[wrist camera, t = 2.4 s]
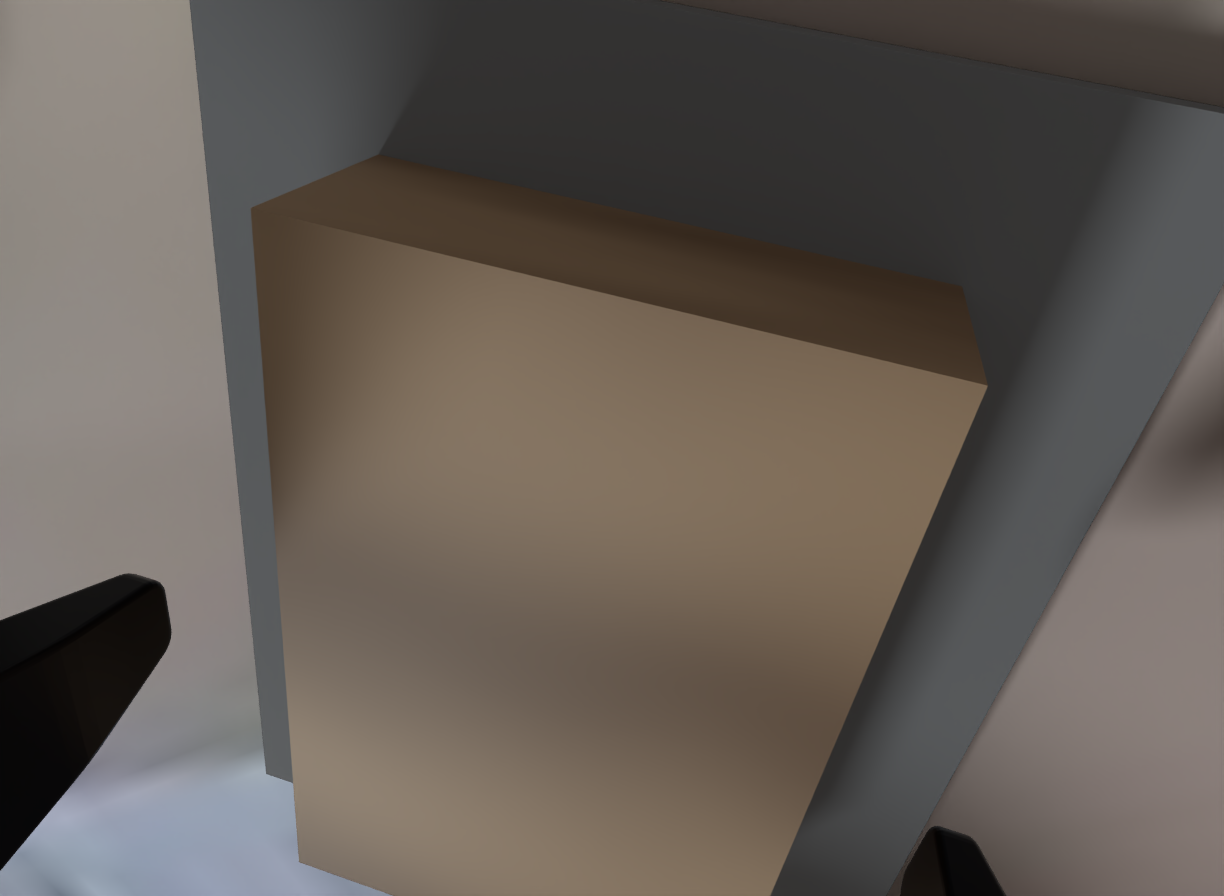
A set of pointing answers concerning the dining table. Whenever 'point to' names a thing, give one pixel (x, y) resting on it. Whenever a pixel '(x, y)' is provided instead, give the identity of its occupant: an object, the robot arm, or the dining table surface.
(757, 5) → the dining table surface
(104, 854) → the dining table surface
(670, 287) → the board
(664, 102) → the mat
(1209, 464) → the dining table surface
